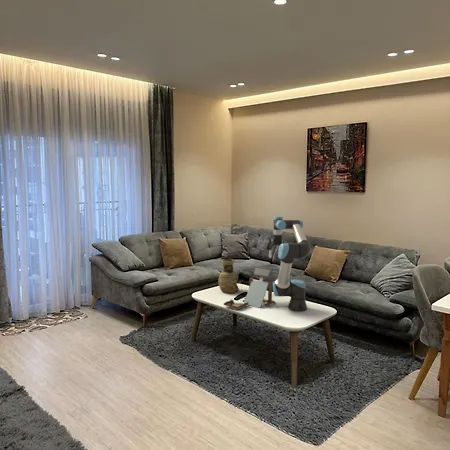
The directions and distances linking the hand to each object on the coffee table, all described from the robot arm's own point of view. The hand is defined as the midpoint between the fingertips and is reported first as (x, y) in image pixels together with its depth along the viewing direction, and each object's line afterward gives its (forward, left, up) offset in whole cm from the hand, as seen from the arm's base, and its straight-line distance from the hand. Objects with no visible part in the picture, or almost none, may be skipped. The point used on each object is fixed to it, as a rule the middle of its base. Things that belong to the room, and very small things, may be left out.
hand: (277, 258), depth 347 cm
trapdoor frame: (+8, +14, -37) cm, 40 cm away
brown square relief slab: (+18, +29, -35) cm, 49 cm away
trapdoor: (+8, +15, -26) cm, 31 cm away
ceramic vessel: (+48, +4, -37) cm, 61 cm away
